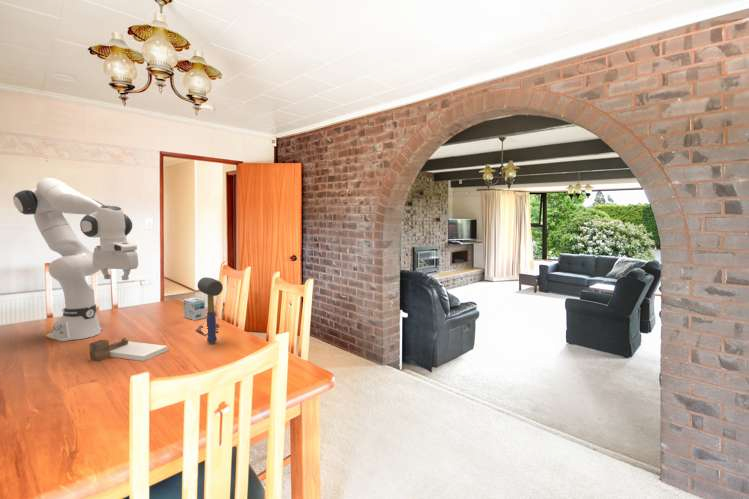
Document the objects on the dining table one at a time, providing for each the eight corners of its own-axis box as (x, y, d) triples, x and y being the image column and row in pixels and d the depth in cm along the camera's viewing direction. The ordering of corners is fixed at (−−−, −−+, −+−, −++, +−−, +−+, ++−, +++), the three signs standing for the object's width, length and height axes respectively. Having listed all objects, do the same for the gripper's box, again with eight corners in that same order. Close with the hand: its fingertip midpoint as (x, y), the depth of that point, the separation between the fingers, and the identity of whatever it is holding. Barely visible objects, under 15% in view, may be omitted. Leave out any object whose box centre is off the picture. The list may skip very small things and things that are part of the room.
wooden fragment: (218, 335, 181) (218, 333, 181) (193, 338, 178) (193, 335, 178) (220, 321, 205) (220, 319, 205) (198, 323, 202) (198, 321, 202)
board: (101, 355, 155) (101, 350, 155) (127, 345, 166) (127, 341, 166) (144, 361, 149) (143, 356, 149) (167, 350, 161) (167, 346, 160)
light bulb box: (206, 318, 210) (205, 299, 209) (194, 320, 205) (194, 301, 204) (194, 315, 216) (194, 296, 215) (183, 317, 210) (182, 299, 209)
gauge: (90, 360, 149) (89, 343, 149) (123, 348, 163) (122, 332, 162) (98, 361, 148) (96, 344, 148) (130, 348, 162) (129, 333, 161)
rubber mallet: (226, 344, 168) (224, 278, 165) (209, 348, 163) (206, 281, 160) (214, 338, 177) (212, 275, 174) (198, 341, 172) (195, 277, 169)
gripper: (86, 246, 151) (89, 279, 153) (126, 247, 146) (128, 282, 147) (101, 244, 157) (104, 277, 159) (140, 245, 152) (142, 279, 153)
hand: (116, 279), depth 153 cm, fingers open, 8 cm apart
